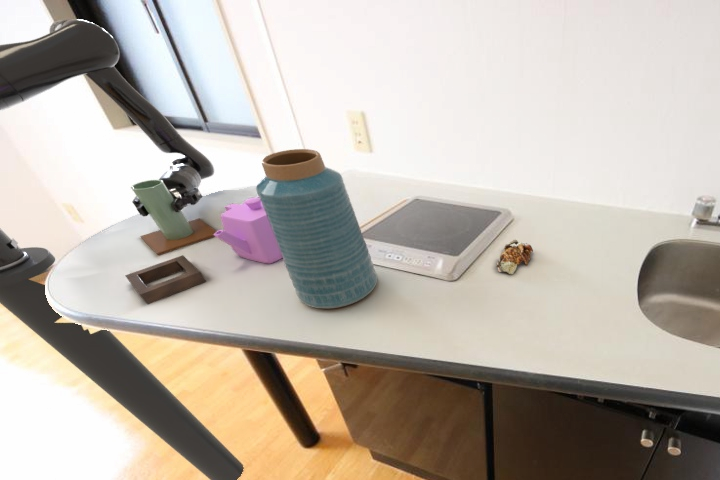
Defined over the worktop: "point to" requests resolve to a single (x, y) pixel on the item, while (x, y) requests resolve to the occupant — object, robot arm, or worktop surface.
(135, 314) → the worktop surface
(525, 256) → the pastry
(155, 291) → the rectangular frame
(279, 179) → the vase
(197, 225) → the mat
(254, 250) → the teakettle
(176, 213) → the cup
